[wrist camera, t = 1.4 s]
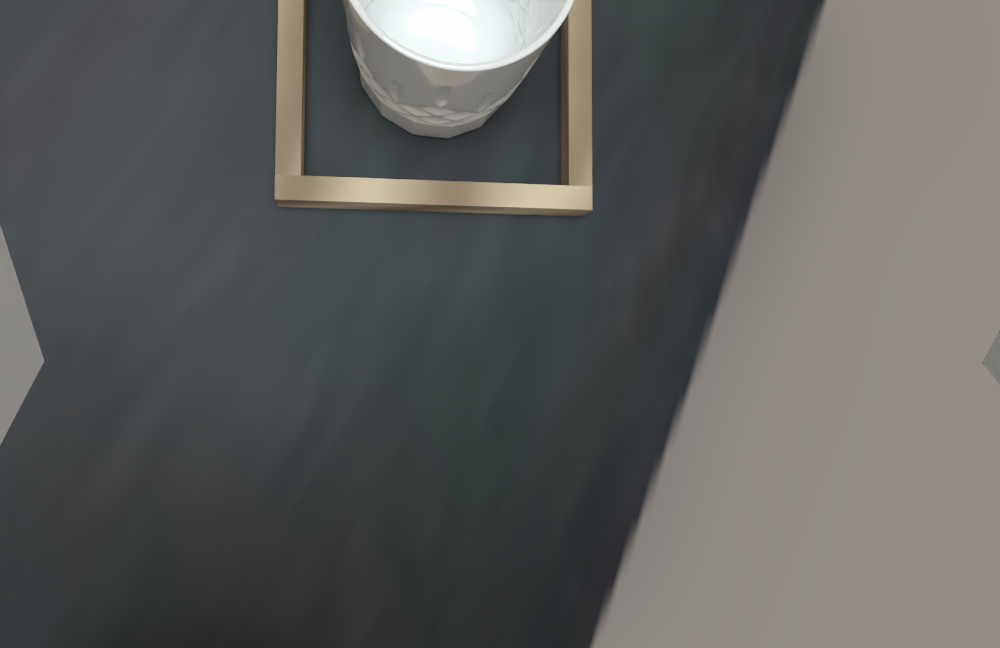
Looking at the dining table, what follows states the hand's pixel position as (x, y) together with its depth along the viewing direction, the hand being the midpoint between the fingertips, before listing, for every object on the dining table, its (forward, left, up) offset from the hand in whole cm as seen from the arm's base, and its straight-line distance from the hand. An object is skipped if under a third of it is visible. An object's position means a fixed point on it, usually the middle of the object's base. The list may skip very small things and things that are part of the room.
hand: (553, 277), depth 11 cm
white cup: (-8, +9, -26) cm, 29 cm away
